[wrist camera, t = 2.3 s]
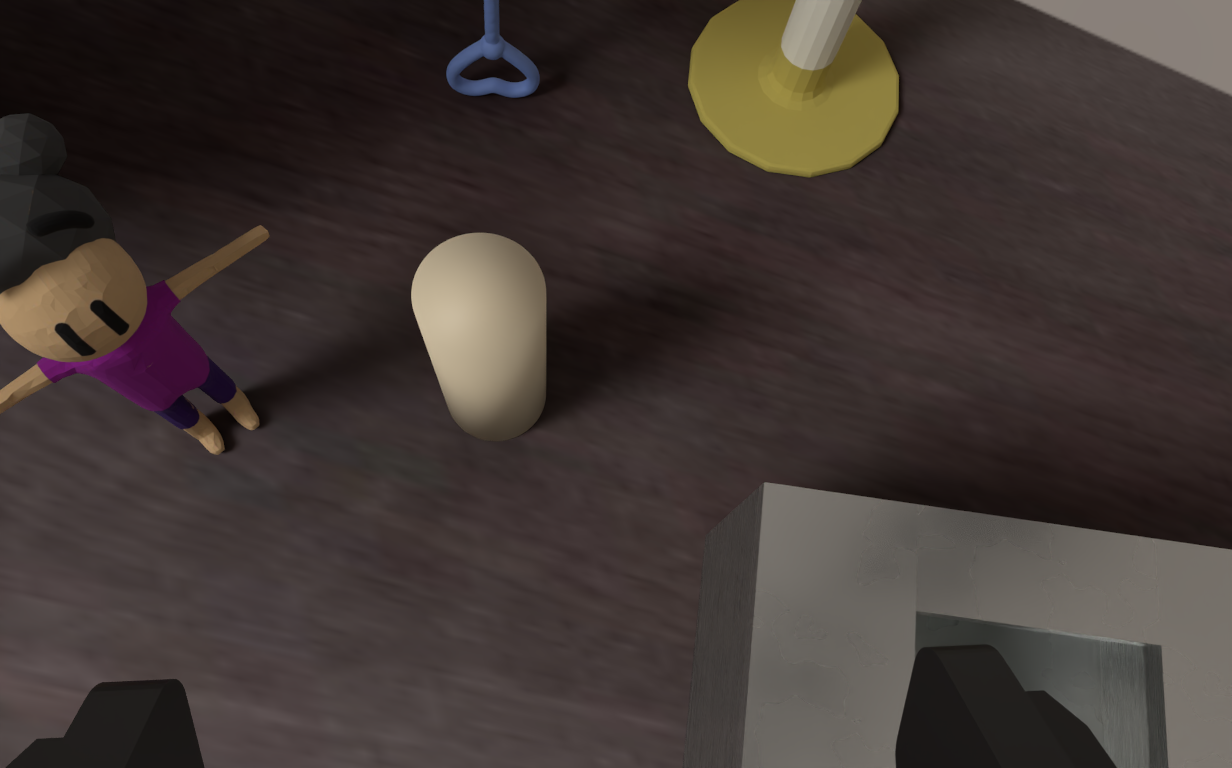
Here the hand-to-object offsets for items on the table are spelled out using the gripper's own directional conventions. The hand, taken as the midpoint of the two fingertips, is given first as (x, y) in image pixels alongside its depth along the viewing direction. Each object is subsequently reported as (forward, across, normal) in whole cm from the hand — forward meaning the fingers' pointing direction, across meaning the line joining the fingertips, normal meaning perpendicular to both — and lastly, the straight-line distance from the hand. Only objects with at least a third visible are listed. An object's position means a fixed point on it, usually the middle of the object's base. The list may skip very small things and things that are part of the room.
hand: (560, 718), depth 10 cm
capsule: (+26, +2, +9) cm, 27 cm away
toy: (+26, +13, +9) cm, 30 cm away
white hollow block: (+16, -13, +19) cm, 28 cm away
